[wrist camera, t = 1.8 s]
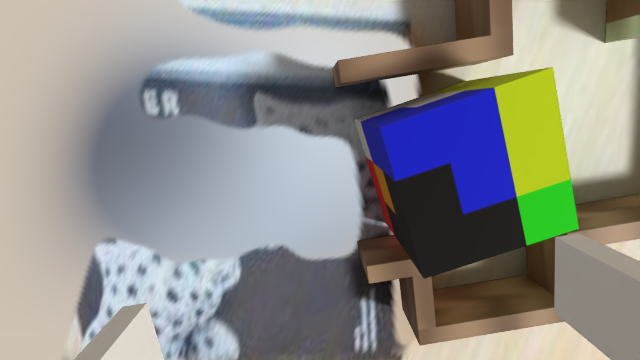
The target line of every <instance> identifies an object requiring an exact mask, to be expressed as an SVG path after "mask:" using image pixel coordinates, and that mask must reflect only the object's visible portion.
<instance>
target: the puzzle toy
mask: <svg viewBox="0 0 640 360" xmlns="http://www.w3.org/2000/svg"><path fill="white" fill-rule="evenodd" d="M354 121H355V124H356V127H357V131H358V134H359V137H360V140H361V143H362V147H363V150H364V153H365V156H366V159H367V163H368V166H369V169H370V172H371V176H372V179H373V182H374V185H375V188H376V192H377V195H378V198H379V201H380V205H381V208H382V211H383V214H384V217H385V221H386V224H387V225H388V227H389V228H390V229H391V231H392V232H393V234H394V235H395V237H396V238H397V240H398V241H399V243H400V244H401V246H402V247H403V249H404V250H405V252H406V253H407V255H408V256H409V258H410V259H411V261H412V262H413V263H414V265H415V266H416V268H417V269H418V271H419V272H420V274H421V275H422V277H423V278H424V279H426V278H429V277H432V276H435V275H438V274H441V273H444V272H447V271H450V270H453V269H456V268H459V267H463V266H466V265H469V264H472V263H475V262H478V261H481V260H484V259H487V258H490V257H493V256H496V255H499V254H503V253H506V252H509V251H512V250H515V249H518V248H521V247H524V246H527V245H530V244H533V243H536V242H539V241H543V240H546V239H549V238H552V237H555V236H558V235H561V234H564V233H567V232H570V231H573V230H576V229H579V226H578V220H577V214H576V208H575V202H574V195H573V189H572V183H571V177H570V171H569V165H568V158H567V152H566V146H565V140H564V134H563V127H562V121H561V115H560V109H559V103H558V97H557V90H556V84H555V78H554V72H553V67H551V68H545V69H539V70H533V71H526V72H520V73H514V74H507V75H501V76H495V77H489V78H482V79H476V80H470V81H465V82H462V83H459V84H456V85H453V86H451V87H448V88H445V89H442V90H439V91H436V92H433V93H430V94H427V95H425V96H422V97H419V98H416V99H413V100H410V101H407V102H404V103H402V104H398V105H396V106H393V107H390V108H387V109H384V110H381V111H378V112H375V113H373V114H370V115H367V116H364V117H361V118H358V119H355V120H354Z"/></svg>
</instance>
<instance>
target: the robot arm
mask: <svg viewBox="0 0 640 360" xmlns="http://www.w3.org/2000/svg"><path fill="white" fill-rule="evenodd" d="M554 313H556V314H557V315H558V316H559V317H560V318H562V319H563V320H564V321H565V322H566V323H568V324H569V325H570V326H571V327H572V328H574V329H575V330H576V331H577V332H578V333H580V334H581V335H582V336H583V337H584V338H586V339H587V340H588V341H589V342H590V343H592V344H593V345H594V346H595V347H597V348H598V349H599V350H600V351H601V352H603V353H604V354H605V355H606V356H607V357H609V358H610V359H611V360H640V261H638V260H636V259H633V258H631V257H629V256H627V255H625V254H623V253H620V252H618V251H616V250H614V249H612V248H610V247H607V246H605V245H603V244H601V243H599V242H597V241H595V240H592V239H590V238H588V237H586V236H584V235H582V234H579V233H577V234H571V235H565V236H559V237H555V296H554ZM74 360H164V357H163V354H162V351H161V347H160V344H159V341H158V338H157V335H156V331H155V328H154V325H153V322H152V319H151V315H150V312H149V309H148V306H147V303H144V304H138V305H131V306H125V307H122V308H121V309H120V310H119V311H118V313H117V314H116V315H115V316H114V317H113V318H112V319H111V320H110V321H109V322H108V323H107V324H106V326H105V327H104V328H103V329H102V330H101V331H100V332H99V333H98V334H97V335H96V336H95V338H94V339H93V340H92V341H91V342H90V343H89V344H88V345H87V346H86V347H85V348H84V349H83V351H82V352H81V353H80V354H79V355H78V356H77V357H76V358H75V359H74Z"/></svg>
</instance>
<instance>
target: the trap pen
mask: <svg viewBox="0 0 640 360" xmlns="http://www.w3.org/2000/svg"><path fill="white" fill-rule="evenodd" d="M455 16H456V33H457V41H453V42H447V43H441V44H435V45H429V46H423V47H417V48H411V49H405V50H399V51H393V52H386V53H380V54H374V55H368V56H362V57H356V58H350V59H344V60H338V61H337V63H336V64H335V66H334V67H333V76H334V83H335V87H341V86H347V85H353V84H359V83H365V82H371V81H377V80H383V79H390V78H396V77H402V76H408V75H414V74H420V73H426V72H432V71H438V70H444V69H450V68H456V67H462V66H468V65H474V64H479V63H483V62H487V61H491V60H495V59H499V58H503V57H507V56H511V55H513V24H512V0H455ZM638 37H640V0H607V9H606V35H605V43H608V42H614V41H620V40H626V39H632V38H638ZM575 208H576V214H577V220H578V226H579V229H576V230H573V231H570V232H567V233H564V234H561V235H558V236H555V237H559V236H565V235H571V234H577V233H579V234H582V235H584V236H586V237H588V238H590V239H592V240H595V241H597V242H599V243H601V244H603V245H605V244H611V243H617V242H623V241H629V240H635V239H640V194H637V195H631V196H625V197H619V198H613V199H607V200H601V201H595V202H588V203H582V204H576V205H575ZM555 237H552V238H549V239H546V240H543V241H539V242H536V243H533V244H530V245H527V246H526V268H527V275H524V276H518V277H511V278H505V279H499V280H493V281H487V282H481V283H475V284H469V285H463V286H457V287H451V288H445V289H439V290H433V288H432V277H429V278H426V279H424V278H423V277H422V275H421V274H420V272H419V271H418V269H417V268H416V266H415V265H414V263H413V262H412V261H411V259H410V258H409V256H408V255H407V253H406V252H405V250H404V249H403V247H402V246H401V244H400V243H399V241H398V240H397V238H396V237H395V235H389V236H383V237H377V238H371V239H365V240H359V241H357V242H358V249H359V256H360V259H361V261H362V264H363V267H364V270H365V273H366V276H367V279H368V281H369V284H370V283H376V282H382V281H388V280H394V279H399V281H400V290H401V299H402V307H403V311H404V313H405V315H406V317H407V319H408V321H409V323H410V325H411V328H412V329H413V332H414V334H415V336H416V338H417V340H418V343H419V345H426V344H432V343H438V342H444V341H450V340H456V339H462V338H468V337H474V336H480V335H486V334H492V333H498V332H504V331H510V330H516V329H522V328H528V327H534V326H540V325H546V324H552V323H558V322H564V320H563V319H562V318H560V317H559V316H558V315H557V314H556V313H554V296H555Z"/></svg>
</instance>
